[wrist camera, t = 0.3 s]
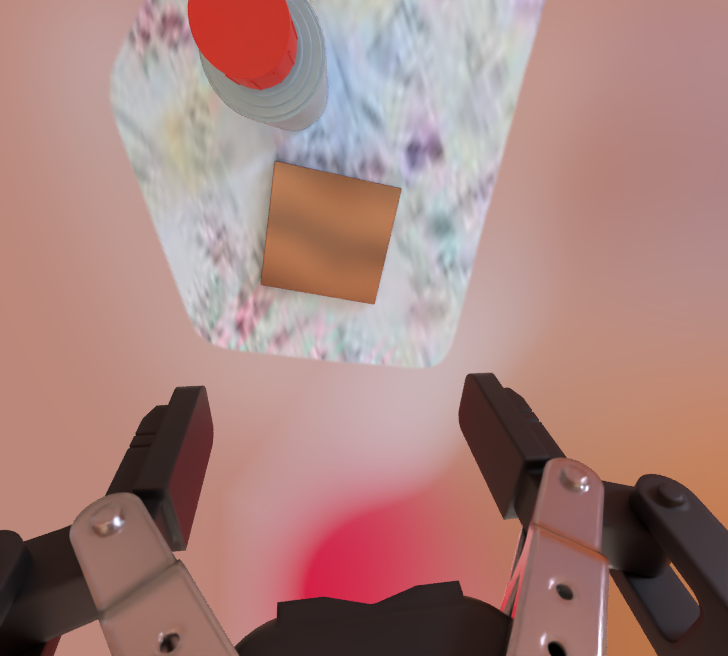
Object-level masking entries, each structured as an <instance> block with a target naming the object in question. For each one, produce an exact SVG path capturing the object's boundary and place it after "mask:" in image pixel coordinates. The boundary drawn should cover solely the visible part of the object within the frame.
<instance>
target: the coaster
mask: <svg viewBox="0 0 728 656" xmlns="http://www.w3.org/2000/svg"><path fill="white" fill-rule="evenodd" d="M400 194H401V188H397V187H392V186H388V185H383V184H379V183H374V182H370V181H365V180H360V179H356V178H351V177H347V176H342V175H338V174H333V173H328V172H324V171H319V170H315V169H310V168H306V167H301V166H296V165H292V164H287V163H283V162H278V161H275V164H274V173H273V182H272V191H271V199H270V208H269V217H268V226H267V235H266V243H265V252H264V261H263V270H262V279H261V285H265V286H270V287H276V288H282V289H288V290H294V291H299V292H305V293H311V294H317V295H323V296H328V297H334V298H340V299H346V300H352V301H357V302H363V303H369V304H375V300H376V296H377V291H378V287H379V283H380V279H381V274H382V270H383V266H384V262H385V257H386V253H387V249H388V245H389V240H390V236H391V232H392V228H393V223H394V219H395V215H396V211H397V206H398V202H399V198H400Z"/></svg>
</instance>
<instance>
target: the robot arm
mask: <svg viewBox="0 0 728 656" xmlns="http://www.w3.org/2000/svg"><path fill="white" fill-rule="evenodd" d="M459 424H460V428H461V431H462V433H463V435H464V437H465V439H466V441H467V443H468V445H469V447H470V449H471V452H472V454H473V456H474V458H475V460H476V462H477V464H478V466H479V468H480V470H481V473H482V475H483V477H484V479H485V481H486V483H487V485H488V487H489V489H490V492H491V493H492V496H493V498H494V500H495V502H496V504H497V506H498V508H499V511H500V513H501V515H502V517H503V519H504V520H506V519H516V518H519V520H520V522H521V524H522V529H521V532H520V535H519V539H518V543H517V547H516V551H515V555H514V559H513V563H512V567H511V571H510V575H509V580H508V583H507V587H506V591H505V595H504V598H503V601H502V604H501V607H500V610H499V609H497V608H495V607H494V606H491V605H490V604H488V603H485V602H483V601H481V600H478V599H475V598H472V597H468V596H463V592H462V590H461V586H460V583H459V581H451V582H443V583H434V584H427V585H418V586H414V587H413V588H410V589H408V590H405V591H403V592H401V593H398V594H396V595H394V596H391V597H389V598H387V599H385V600H383V601H380V602H378V603H375V604H365V603H360V602H353V601H347V600H341V599H334V598H329V597H318V598H310V599H301V600H293V601H285V602H278V603H277V618H275V619H273V620H270V621H268V622H266V623H265V624H263V625H261V626H260V627H258V628H256V629H255V630H253V631H252V632H251V633H249V634H248V635H247V636H245V637H244V638H243V639H242V640H241V641H240V642H239V643H238V644H237V645H236V646H235V647H234V646H233V645H232V643H231V641H230V640H229V638H228V636H227V635H226V633H225V631H224V630H223V628H222V626H221V625H220V623H219V621H218V620H217V618H216V616H215V615H214V613H213V611H212V610H211V608H210V606H209V605H208V603H207V601H206V600H205V598H204V596H203V595H202V593H201V591H200V590H199V588H198V586H197V585H196V583H195V581H194V580H193V578H192V576H191V575H190V573H189V571H188V570H187V568H186V567H185V565H184V564H183V562H182V561H181V560H180V559H179V560H177V559H176V558H175V556H174V554H173V553H172V552H173V551H182V550H186V548H187V544H188V540H189V536H190V532H191V528H192V524H193V520H194V516H195V512H196V508H197V504H198V500H199V496H200V492H201V488H202V485H203V481H204V477H205V472H206V469H207V465H208V461H209V457H210V453H211V449H212V444H213V423H212V417H211V412H210V407H209V402H208V397H207V392H206V388H205V386H186V387H176V388H175V390H174V392H173V395H172V397H171V400H170V402H169V404H168V405H160V406H156V407H155V408H154V409H152V410H151V411H150V412H149V413H148V414H147V415H146V416H145V417H144V418H143V419H142V421H141V423H140V425H139V427H138V429H137V431H136V436H134V438H133V440H132V442H131V444H130V448H129V449H128V450H127V452H126V454H125V456H124V458H123V460H122V462H121V464H120V466H119V468H118V470H117V472H116V474H115V477H114V478H113V481H112V483H111V485H110V487H109V489H108V491H107V493H106V495H105V497H102V498H100V499H98V500H96V501H95V502H93V503H91V504H90V505H89V506H87V507H86V508H85V509H84V510H83V511H82V512H81V513H80V514H79V515H78V516H77V517H76V519H75V520H74V522H73V524H72V525H70V526H67V527H65V528H62V529H60V530H56V531H53V532H51V533H48V534H45V535H42V536H39V537H36V538H33V539H30V540H27V541H23V540H22V538H21V537H20V536H19V534H17V533H16V532H13V531H9V530H0V656H54V653H55V651H56V648H57V646H58V643H59V640H60V638H61V635H63V634H65V633H67V632H69V631H72V630H74V629H77V628H79V627H81V626H83V625H86V624H88V623H91V622H93V621H95V620H97V619H98V620H99V623H100V626H101V628H102V631H103V634H104V636H105V639H106V641H107V644H108V647H109V649H110V652H111V655H112V656H606V648H607V619H608V590H609V573H610V575H611V576H612V578H613V580H614V581H615V583H616V585H617V587H618V588H619V590H620V592H621V593H622V595H623V597H624V599H625V600H626V602H627V604H628V605H629V607H630V609H631V611H632V612H633V614H634V616H635V617H636V619H637V621H638V622H639V624H640V626H641V628H642V629H643V631H644V633H645V635H646V636H647V638H648V639H649V641H650V643H651V645H652V647H653V648H654V650H655V652H656V653H657V655H658V656H728V530H727V529H726V528H725V527H724V526H723V525H722V524H721V523H720V522H719V521H718V520H717V518H716V517H715V516H714V515H713V514H712V513H711V512H710V511H709V510H708V509H707V507H706V506H705V505H704V504H703V503H702V502H701V501H700V500H699V499H698V498H697V497H696V496H695V495H694V494H693V493H692V492H691V491H690V490H689V489H688V488H686V487H685V486H683V485H682V484H680V483H678V482H677V481H675V480H672V479H670V478H667V477H665V476H661V475H656V474H647V475H643V476H641V477H640V478H639V479H638V481H637V483H636V485H635V486H634V487H632V486H627V485H622V484H617V483H611V482H606V481H602V480H601V479H600V478H599V476H598V475H597V474H596V473H595V472H594V471H593V470H592V469H590V468H589V467H588V466H586V465H584V464H583V463H581V462H579V461H576V460H573V459H569V458H567V457H566V456H565V455H564V453H563V452H562V451H561V449H560V448H559V446H558V445H557V444H556V443H555V441H554V440H553V438H552V437H551V436H550V434H549V433H548V431H547V430H546V429H545V427H544V426H543V425H542V423H541V422H539V419H538V418H537V416H536V415H535V414H534V412H532V409H531V408H530V407H529V405H528V404H527V403H526V401H525V400H524V398H522V397H521V396H520V395H519V394H517V393H516V392H514V391H513V390H512V389H510V388H503V387H502V385H501V384H500V382H499V381H498V379H497V378H496V377H495V375H494V374H493V373H474V374H468V375H467V376H466V379H465V383H464V388H463V393H462V398H461V402H460V407H459ZM671 562H672V563H673V564H674V566H675V567H676V569H677V570H678V571H679V573H680V574H681V575H682V577H683V578H684V579H685V581H686V582H687V584H688V585H689V586H690V588H691V589H692V590H693V592H694V594H695V596H696V598H697V600H698V603H699V605H698V604H697V603H696V601H695V600H694V599H693V597H692V596H691V595H690V593H689V592H688V590H687V589H686V588H685V586H684V585H683V583H682V582H681V581H680V579H679V578H678V576H677V575H676V574H675V572H674V571H673V569H672V568H671V567H670V563H671Z"/></svg>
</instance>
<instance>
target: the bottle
mask: <svg viewBox="0 0 728 656" xmlns="http://www.w3.org/2000/svg"><path fill="white" fill-rule="evenodd" d="M286 2H287V5H288V8H289V11H290V15H291V18H292V21H293V23H294V26H295V29H296V33H297V36H298V39H297V53H296V59H295V65H293V67H292V69H291V71H290V72H289V74H288V75H287V76H286V78H285V79H284V80H283V81H282V83H279V84H277V85H275V86H273V87H271V88H267V89H262V90H261V91H260V90H259V89H252V88H248V87H245V86H243V85H241V84H240V85H238V84H236V83H235V82H233V81H232V80H230V79H229V78H227V77H226V76H225V74H224V73H222V72H221V71H219V70H218V69H217V68H215V67H214V66H213V65H212V64H211V63H210V62H209V61H208V60H207V59H206V58H205V57H204V56H203V54H202V53H201V51H200V49H199V52H200V58H201V62H202V66H203V69H204V71H205V74H206V76H207V78H208V80H209V82H210V84H211V86H212V87H213V89H214V90H215V92H216V93H217V94H218V96H219V97H220V98H221V99H222V100H223V101H224V102H225V103H226V104H227V105H228V106H229V107H230V108H232V109H233V110H234V111H236V112H237V113H239V114H241V115H242V116H245V117H247V118H249V119H252V120H255V121H258V122H262V123H265V124H268V125H271V126H274V127H277V128H280V129H284V130H288V131H298V130H302V129H305V128H307V127H309V126H311V125H312V124H314V123H315V122H316V121H317V120H318V119H319V118H320V116H321V115H322V113H323V111H324V109H325V106H326V103H327V99H328V78H327V62H326V48H325V40H324V36H323V32H322V29H321V26H320V23H319V20H318V18H317V16H316V14H315V12H314V10H313V9H312V7H311V6H310V4H309V3H308V2H307V0H286Z"/></svg>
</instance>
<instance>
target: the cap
mask: <svg viewBox="0 0 728 656" xmlns="http://www.w3.org/2000/svg"><path fill="white" fill-rule="evenodd" d="M188 18H189V24H190V29H191V32H192V35H193V38H194V40H195V42H196V44H197V46H198V48H199V49H200V51H201V53H202V54H203V56H204V57H205V58H206V59H207V60H208V61H209V62H210V63H211V64H212V65H213V66H214V67H215V68H217V69H218V70H219V71H221V72H222V73H224V74H225V76H226V77H227V78H229V79H230V80H232V81H233V82H235V83H236V84H238V85H240V84H241V85H243V86H245V87H248V88H252V89H259V90H260V91H261V90H262V89H267V88H271V87H273V86H275V85H277V84H279V83H282V81H283V80H284V79H285V78H286V76H287V75H288V74H289V72H290V71H291V69H292V67H293V65H295V59H296V53H297V39H298V36H297V33H296V29H295V26H294V23H293V21H292V18H291V15H290V11H289V8H288V5H287V2H286V0H188Z"/></svg>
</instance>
